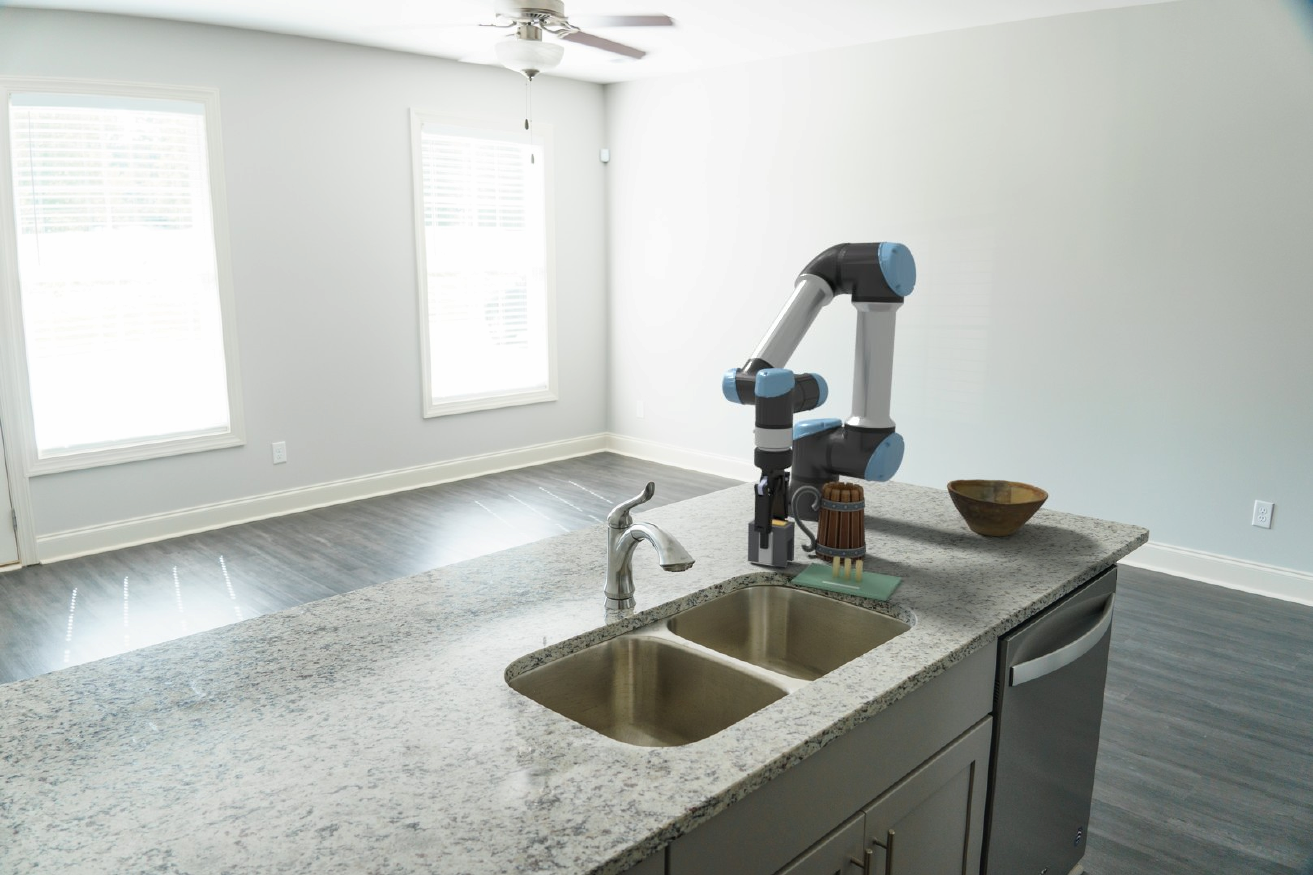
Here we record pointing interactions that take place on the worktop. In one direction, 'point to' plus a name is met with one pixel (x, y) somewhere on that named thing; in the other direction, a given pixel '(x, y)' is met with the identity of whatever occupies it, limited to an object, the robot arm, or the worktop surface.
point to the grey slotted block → (774, 542)
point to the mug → (836, 521)
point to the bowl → (995, 504)
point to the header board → (847, 580)
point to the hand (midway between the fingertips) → (770, 558)
